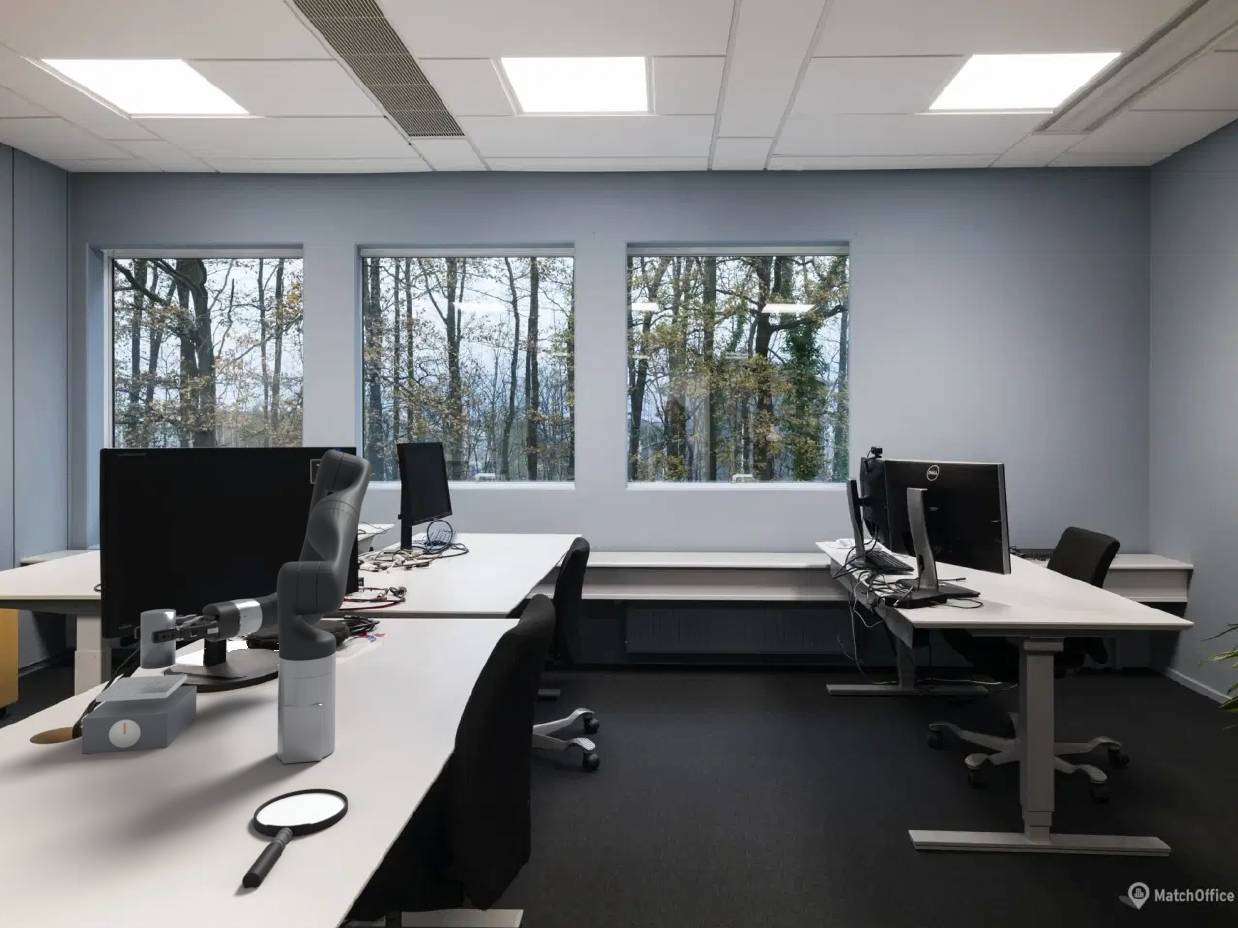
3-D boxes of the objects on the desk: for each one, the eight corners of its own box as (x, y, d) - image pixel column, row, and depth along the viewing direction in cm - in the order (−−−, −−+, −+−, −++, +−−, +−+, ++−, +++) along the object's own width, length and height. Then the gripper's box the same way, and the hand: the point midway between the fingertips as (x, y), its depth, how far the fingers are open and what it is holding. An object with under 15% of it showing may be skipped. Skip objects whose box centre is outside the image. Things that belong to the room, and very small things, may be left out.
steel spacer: (169, 667, 135) (169, 614, 135) (135, 669, 134) (135, 615, 133) (179, 659, 140) (180, 608, 140) (147, 661, 139) (147, 609, 139)
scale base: (166, 748, 127) (166, 714, 127) (80, 754, 123) (81, 719, 123) (196, 715, 143) (196, 685, 143) (121, 720, 139) (121, 689, 139)
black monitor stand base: (163, 672, 171) (163, 661, 171) (233, 649, 193) (233, 639, 193) (241, 681, 166) (241, 669, 166) (304, 656, 188) (304, 645, 188)
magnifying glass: (195, 893, 86) (196, 874, 86) (273, 801, 110) (273, 787, 110) (304, 888, 87) (305, 870, 87) (357, 799, 111) (358, 785, 111)
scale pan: (166, 697, 129) (166, 692, 129) (95, 701, 126) (96, 696, 126) (186, 679, 140) (186, 674, 140) (122, 682, 137) (122, 677, 137)
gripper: (212, 597, 153) (124, 611, 138) (252, 604, 145) (164, 620, 131) (212, 632, 153) (124, 650, 138) (252, 642, 145) (164, 661, 131)
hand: (144, 635), depth 135 cm, fingers closed on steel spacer, 5 cm apart
